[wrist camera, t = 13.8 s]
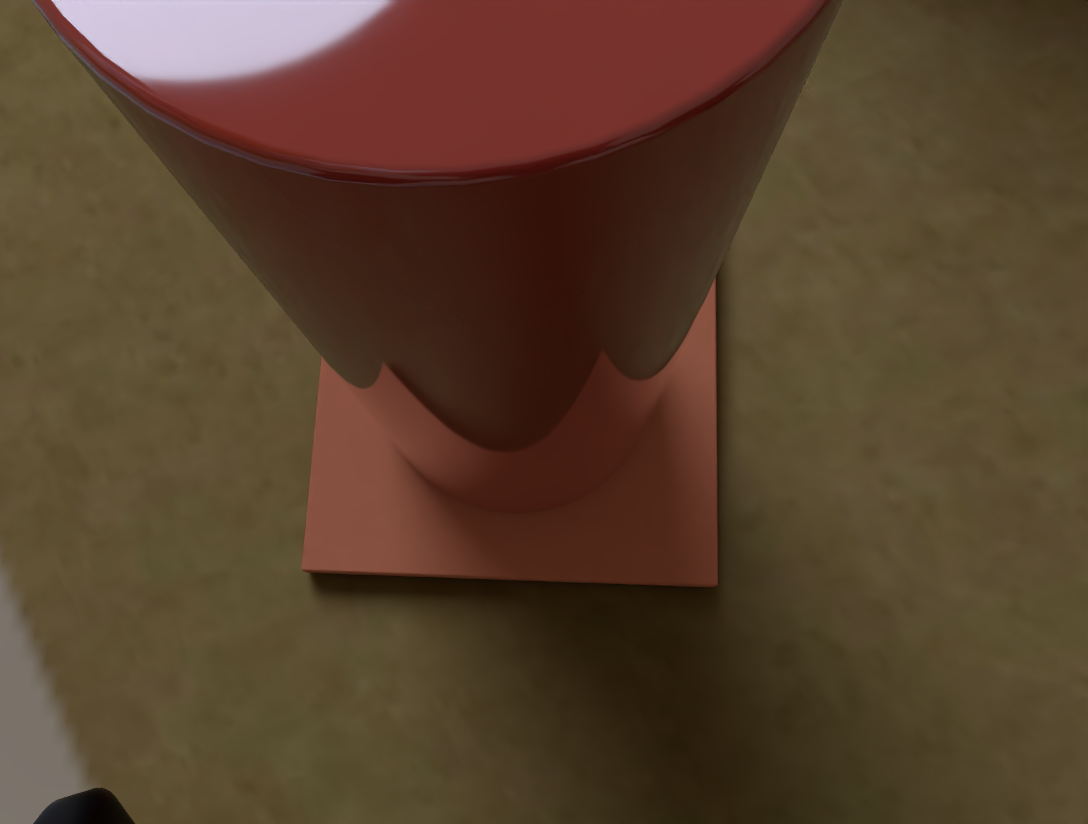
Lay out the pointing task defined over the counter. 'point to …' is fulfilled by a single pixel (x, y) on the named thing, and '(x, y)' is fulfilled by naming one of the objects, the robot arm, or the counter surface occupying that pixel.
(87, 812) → the robot arm
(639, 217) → the red cylinder
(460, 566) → the terracotta pad
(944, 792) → the counter surface
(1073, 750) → the counter surface
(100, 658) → the counter surface
